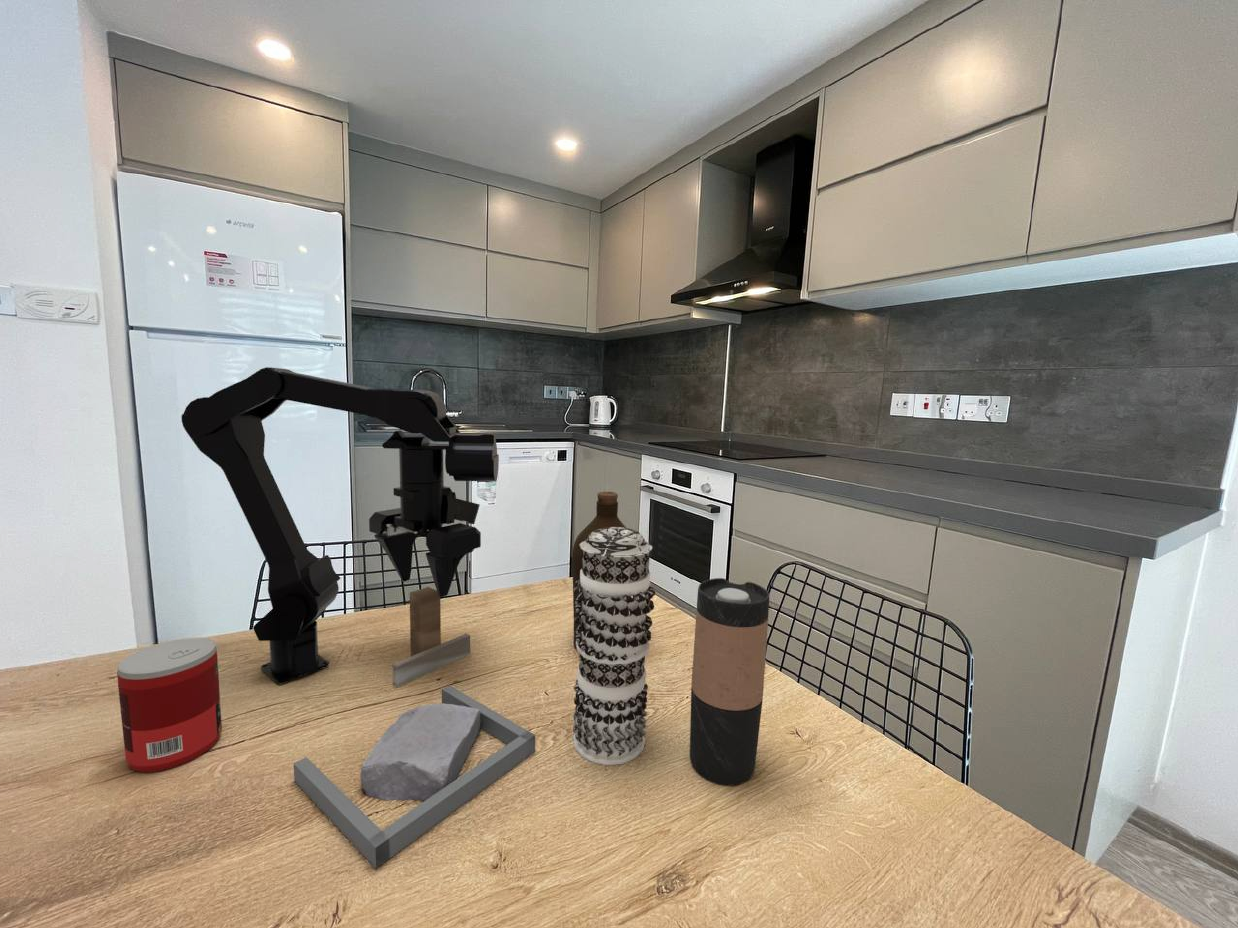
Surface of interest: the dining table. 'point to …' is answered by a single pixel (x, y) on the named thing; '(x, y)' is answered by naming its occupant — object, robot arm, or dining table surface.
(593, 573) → the decorative candle
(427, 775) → the stone block
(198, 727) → the canned food
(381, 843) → the frame
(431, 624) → the block
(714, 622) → the travel mug
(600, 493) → the olive oil
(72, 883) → the dining table surface
